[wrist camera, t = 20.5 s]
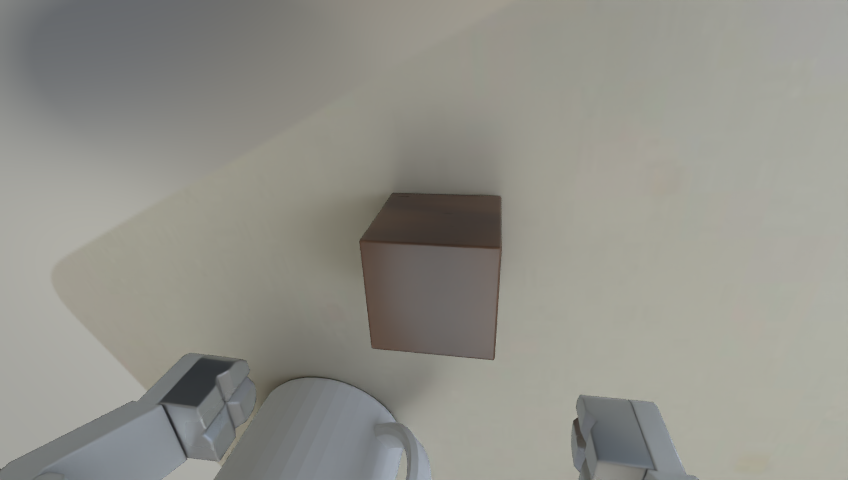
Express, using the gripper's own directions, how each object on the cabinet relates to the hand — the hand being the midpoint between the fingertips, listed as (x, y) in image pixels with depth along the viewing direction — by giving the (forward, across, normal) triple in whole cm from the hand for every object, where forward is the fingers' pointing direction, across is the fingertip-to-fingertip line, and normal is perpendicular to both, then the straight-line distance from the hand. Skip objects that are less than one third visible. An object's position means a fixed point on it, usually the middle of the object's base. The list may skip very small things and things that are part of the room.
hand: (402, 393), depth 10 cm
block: (+9, 0, 0) cm, 9 cm away
